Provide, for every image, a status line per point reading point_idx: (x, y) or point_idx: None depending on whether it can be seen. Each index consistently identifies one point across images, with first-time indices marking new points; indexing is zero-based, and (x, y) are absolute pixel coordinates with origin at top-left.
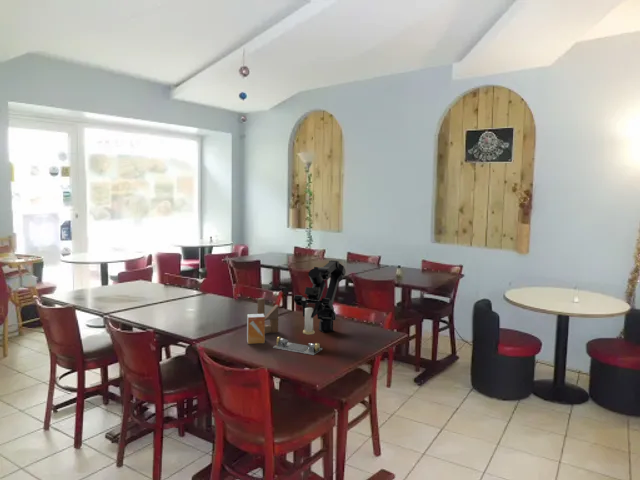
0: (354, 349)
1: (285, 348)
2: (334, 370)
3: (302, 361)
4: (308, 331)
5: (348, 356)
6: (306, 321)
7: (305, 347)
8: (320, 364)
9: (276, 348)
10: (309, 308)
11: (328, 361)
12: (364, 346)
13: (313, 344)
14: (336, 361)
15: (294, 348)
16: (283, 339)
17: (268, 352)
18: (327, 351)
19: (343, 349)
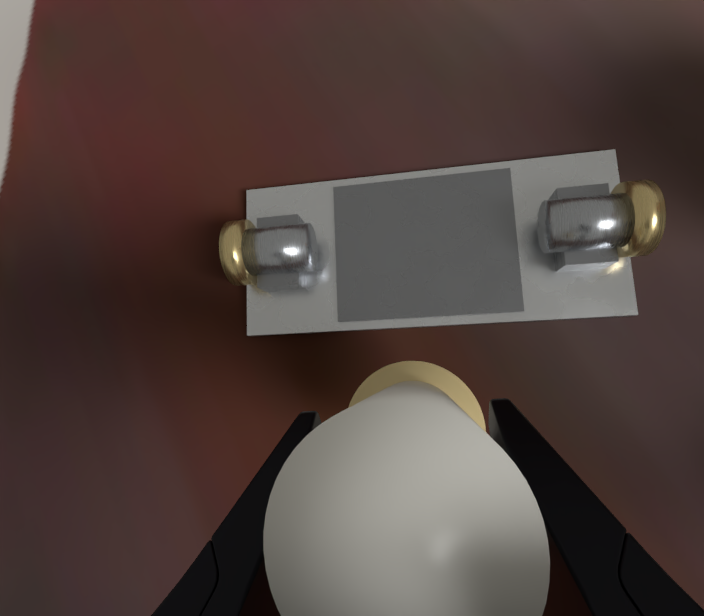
0: (53, 461)
1: (493, 170)
2: (47, 57)
3: (259, 60)
4: (390, 384)
5: (47, 302)
6: (416, 386)
7: (361, 269)
8: (144, 84)
9: (574, 158)
10: (371, 525)
11: (123, 152)
12: (11, 569)
13: (261, 233)
14: (82, 180)
15: (424, 200)
16: (577, 203)
17: (568, 55)
18: (201, 317)
19: (119, 420)
